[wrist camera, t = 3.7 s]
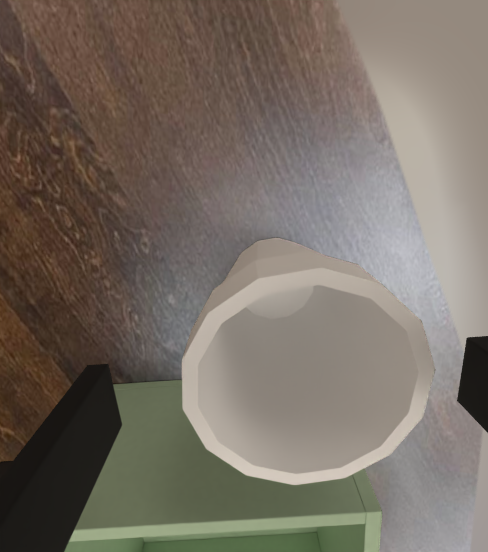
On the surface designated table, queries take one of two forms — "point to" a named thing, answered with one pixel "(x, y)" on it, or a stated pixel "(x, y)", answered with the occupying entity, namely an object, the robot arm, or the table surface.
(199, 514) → the open storage box
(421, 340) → the foam cup
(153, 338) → the table surface
